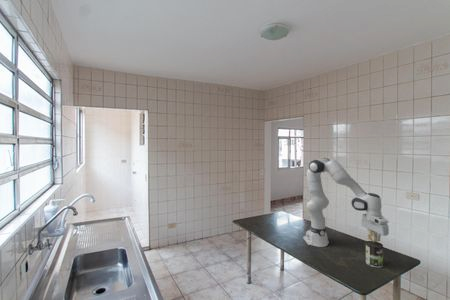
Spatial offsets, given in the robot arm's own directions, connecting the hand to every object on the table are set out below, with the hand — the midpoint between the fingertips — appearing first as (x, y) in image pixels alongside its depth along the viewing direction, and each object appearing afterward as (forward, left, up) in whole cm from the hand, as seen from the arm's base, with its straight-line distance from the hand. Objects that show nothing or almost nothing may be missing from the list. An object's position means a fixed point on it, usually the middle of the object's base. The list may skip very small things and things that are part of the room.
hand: (374, 237), depth 164 cm
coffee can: (0, 0, -19) cm, 19 cm away
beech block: (0, 0, -2) cm, 2 cm away
